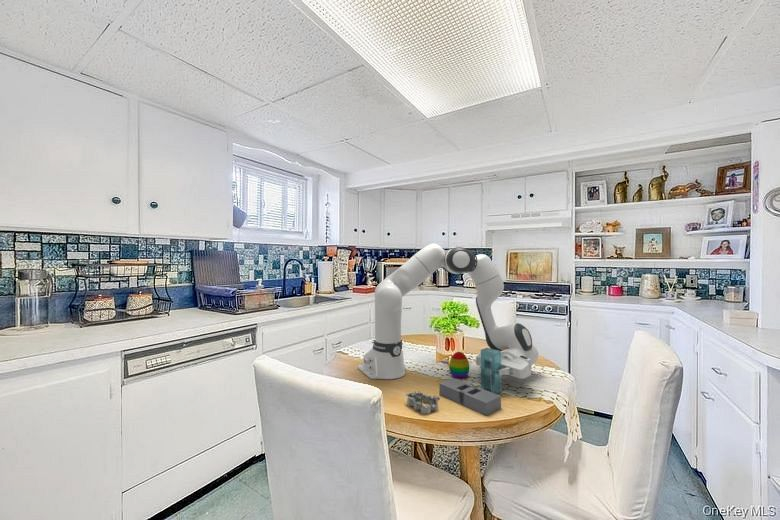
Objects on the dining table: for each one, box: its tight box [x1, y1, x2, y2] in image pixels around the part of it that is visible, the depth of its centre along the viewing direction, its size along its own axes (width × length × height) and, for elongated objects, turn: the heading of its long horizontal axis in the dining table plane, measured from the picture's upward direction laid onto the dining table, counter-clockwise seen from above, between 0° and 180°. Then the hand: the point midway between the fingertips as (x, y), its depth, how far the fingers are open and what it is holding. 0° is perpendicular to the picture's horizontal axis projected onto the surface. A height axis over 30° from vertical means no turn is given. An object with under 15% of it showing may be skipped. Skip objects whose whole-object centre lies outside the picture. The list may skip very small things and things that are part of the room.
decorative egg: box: [448, 351, 470, 379], centre depth 136 cm, size 8×8×10 cm
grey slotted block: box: [438, 377, 502, 416], centre depth 113 cm, size 20×8×4 cm, turn 38°
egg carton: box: [405, 391, 440, 415], centre depth 110 cm, size 11×8×4 cm
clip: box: [480, 347, 502, 395], centre depth 121 cm, size 6×4×15 cm, turn 38°
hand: (489, 369), depth 121 cm, fingers closed on clip, 6 cm apart
